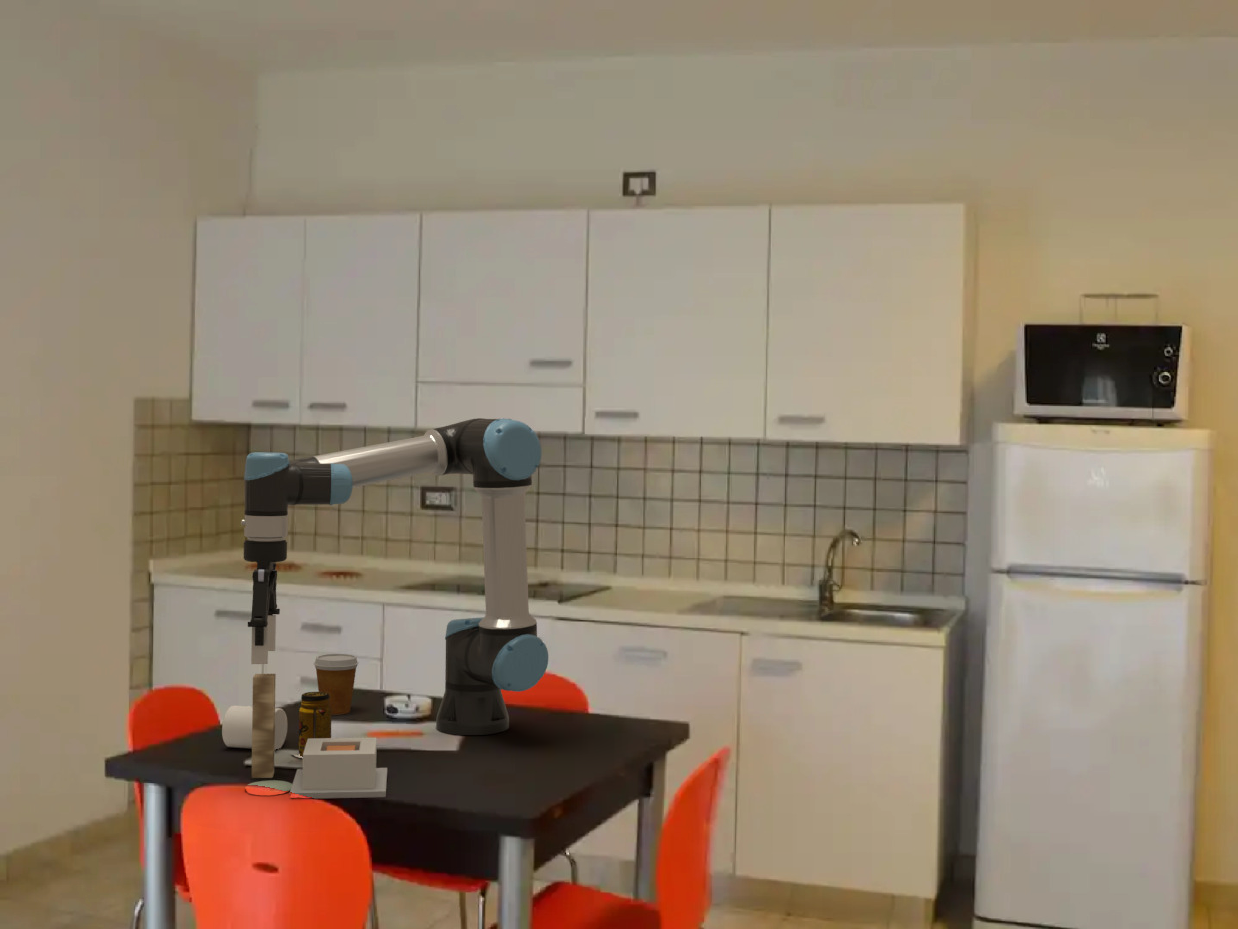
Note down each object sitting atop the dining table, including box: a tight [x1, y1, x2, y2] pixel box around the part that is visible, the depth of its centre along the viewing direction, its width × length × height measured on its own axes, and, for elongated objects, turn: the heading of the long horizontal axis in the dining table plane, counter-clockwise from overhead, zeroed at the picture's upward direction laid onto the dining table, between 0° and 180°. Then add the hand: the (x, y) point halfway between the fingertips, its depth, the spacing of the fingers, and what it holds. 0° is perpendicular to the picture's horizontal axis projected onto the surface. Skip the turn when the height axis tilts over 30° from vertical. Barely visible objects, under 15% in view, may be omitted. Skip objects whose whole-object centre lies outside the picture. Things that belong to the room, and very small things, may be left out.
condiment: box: [298, 691, 332, 757], centre depth 268 cm, size 7×8×12 cm
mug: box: [221, 705, 288, 751], centre depth 275 cm, size 12×10×8 cm
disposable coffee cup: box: [313, 653, 359, 716], centre depth 306 cm, size 10×10×12 cm
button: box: [326, 745, 355, 751], centre depth 247 cm, size 5×5×4 cm
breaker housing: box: [289, 737, 388, 799], centre depth 247 cm, size 16×16×7 cm
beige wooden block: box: [251, 673, 277, 779], centre depth 252 cm, size 4×4×18 cm
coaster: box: [247, 779, 293, 791], centre depth 243 cm, size 8×8×1 cm
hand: (263, 657), depth 252 cm, fingers open, 13 cm apart
